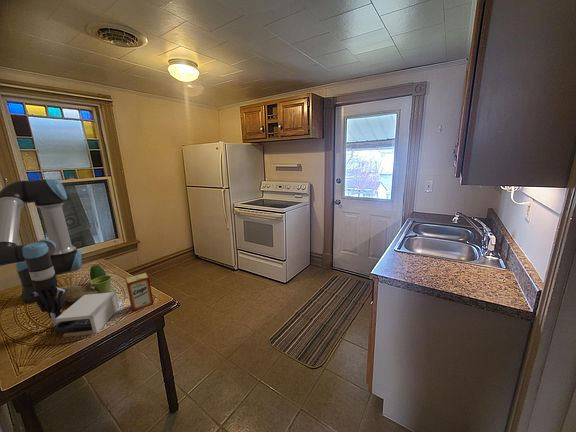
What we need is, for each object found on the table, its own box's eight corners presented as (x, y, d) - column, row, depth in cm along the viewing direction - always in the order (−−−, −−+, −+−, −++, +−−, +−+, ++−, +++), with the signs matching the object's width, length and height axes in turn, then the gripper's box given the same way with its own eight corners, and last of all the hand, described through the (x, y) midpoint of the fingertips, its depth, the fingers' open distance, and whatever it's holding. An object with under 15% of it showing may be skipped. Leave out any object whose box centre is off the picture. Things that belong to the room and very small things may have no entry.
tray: (55, 334, 106) (53, 328, 106) (74, 316, 118) (73, 311, 117) (95, 330, 108) (93, 324, 108) (110, 313, 120) (109, 308, 119)
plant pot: (103, 298, 133) (99, 284, 131) (89, 296, 135) (86, 282, 133) (118, 289, 142) (115, 276, 139) (105, 287, 144) (102, 274, 142)
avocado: (88, 284, 148) (84, 266, 145) (101, 278, 155) (97, 261, 152) (98, 286, 146) (93, 268, 143) (110, 280, 153) (106, 262, 150)
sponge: (60, 302, 133) (69, 307, 121) (59, 287, 133) (68, 291, 121) (90, 295, 143) (101, 299, 131) (89, 282, 144) (100, 285, 131)
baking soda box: (132, 311, 121) (126, 282, 117) (130, 305, 126) (125, 277, 122) (153, 303, 127) (148, 276, 123) (151, 298, 132) (146, 271, 128)
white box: (59, 337, 104) (54, 319, 102) (88, 310, 123) (84, 294, 120) (96, 333, 106) (91, 315, 104) (119, 307, 125) (115, 292, 122)
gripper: (18, 283, 101) (34, 330, 107) (54, 280, 103) (67, 326, 109) (34, 274, 108) (48, 319, 114) (66, 271, 110) (78, 316, 116)
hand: (57, 323), depth 112 cm, fingers closed
